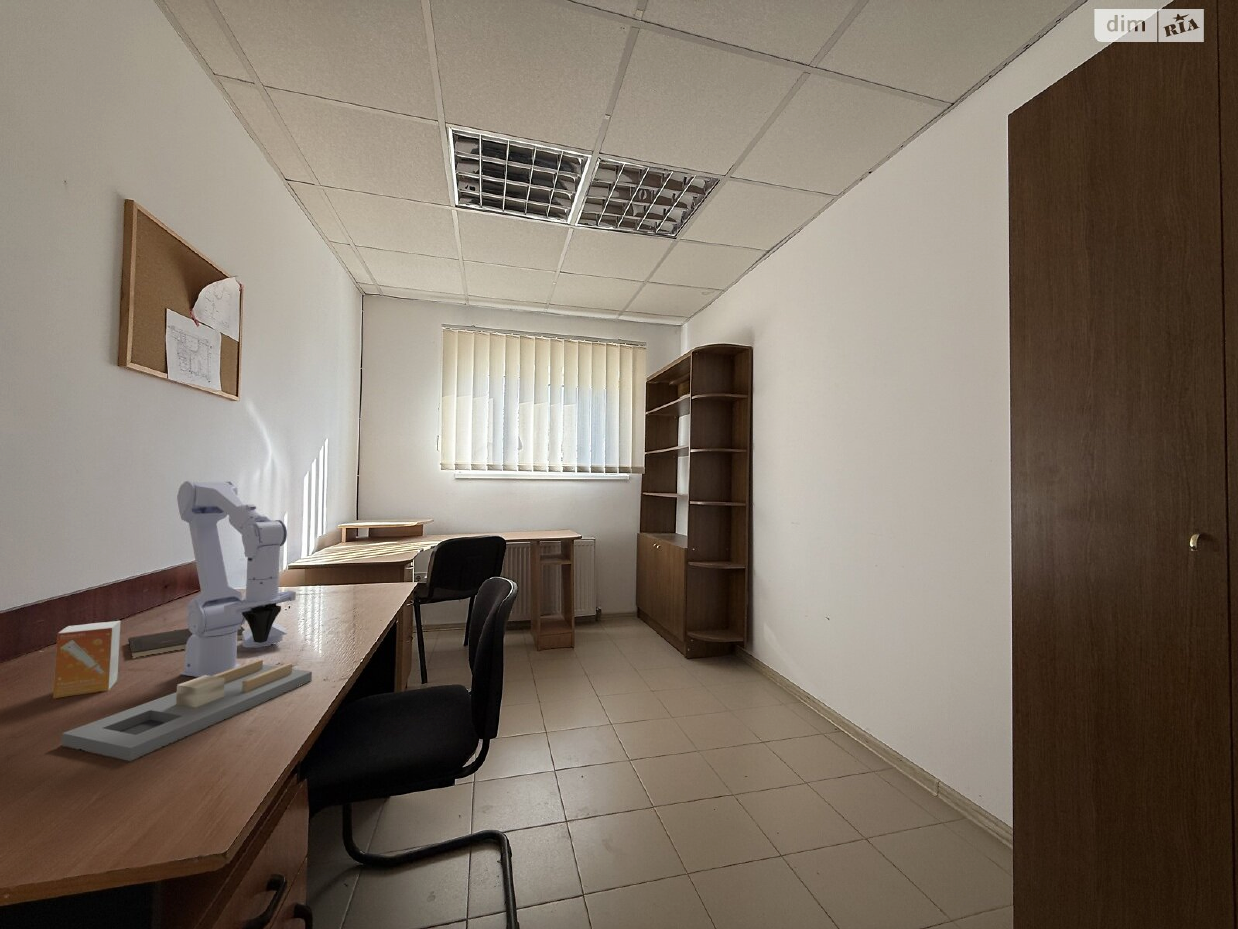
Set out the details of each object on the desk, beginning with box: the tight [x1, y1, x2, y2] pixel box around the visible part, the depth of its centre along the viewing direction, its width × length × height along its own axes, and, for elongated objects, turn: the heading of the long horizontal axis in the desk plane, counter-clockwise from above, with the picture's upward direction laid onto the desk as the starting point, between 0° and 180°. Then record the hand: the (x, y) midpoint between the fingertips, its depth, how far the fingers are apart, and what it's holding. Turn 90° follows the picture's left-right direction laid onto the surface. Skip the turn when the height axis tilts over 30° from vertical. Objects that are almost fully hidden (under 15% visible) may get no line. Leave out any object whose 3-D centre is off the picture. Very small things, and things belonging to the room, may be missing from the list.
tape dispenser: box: [241, 621, 288, 648], centre depth 134 cm, size 9×7×13 cm
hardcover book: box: [127, 625, 246, 658], centre depth 135 cm, size 16×23×2 cm
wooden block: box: [176, 675, 225, 708], centre depth 95 cm, size 5×5×4 cm
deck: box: [61, 659, 313, 762], centre depth 96 cm, size 16×33×4 cm, turn 165°
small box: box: [52, 620, 121, 699], centre depth 104 cm, size 8×6×13 cm
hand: (260, 641), depth 107 cm, fingers closed
